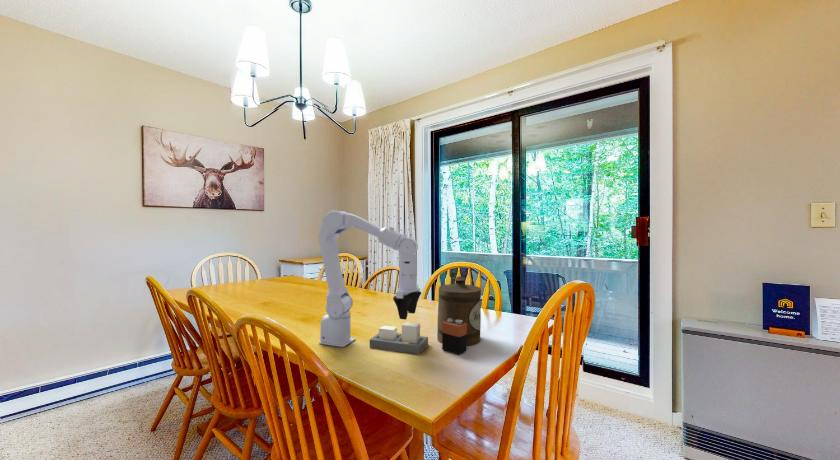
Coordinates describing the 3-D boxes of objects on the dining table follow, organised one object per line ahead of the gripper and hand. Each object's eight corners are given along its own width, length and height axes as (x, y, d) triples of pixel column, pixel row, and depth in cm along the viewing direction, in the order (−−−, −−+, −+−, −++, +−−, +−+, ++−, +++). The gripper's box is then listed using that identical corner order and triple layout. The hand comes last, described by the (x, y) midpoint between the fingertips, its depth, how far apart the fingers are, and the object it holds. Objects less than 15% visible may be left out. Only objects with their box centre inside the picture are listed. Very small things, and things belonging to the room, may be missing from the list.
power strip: (369, 347, 109) (369, 330, 109) (381, 338, 118) (381, 322, 118) (419, 354, 104) (419, 336, 104) (428, 344, 112) (428, 328, 112)
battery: (459, 355, 103) (459, 323, 103) (441, 350, 107) (441, 318, 107) (467, 351, 106) (467, 320, 106) (449, 346, 111) (449, 316, 110)
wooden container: (483, 347, 110) (484, 280, 109) (438, 346, 110) (438, 279, 110) (476, 333, 125) (477, 273, 124) (436, 332, 125) (437, 273, 125)
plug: (401, 346, 108) (401, 325, 108) (405, 343, 112) (405, 322, 112) (416, 348, 107) (416, 326, 107) (419, 344, 110) (420, 323, 110)
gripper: (411, 278, 102) (411, 323, 102) (426, 272, 116) (426, 311, 116) (390, 277, 104) (389, 320, 105) (407, 271, 118) (406, 309, 118)
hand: (407, 316), depth 111 cm, fingers open, 7 cm apart
